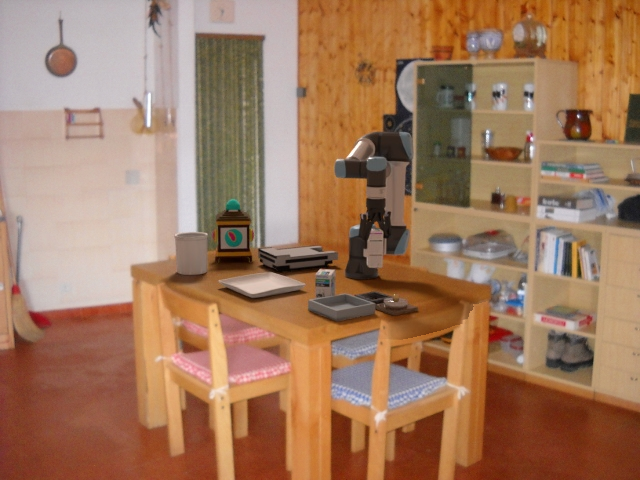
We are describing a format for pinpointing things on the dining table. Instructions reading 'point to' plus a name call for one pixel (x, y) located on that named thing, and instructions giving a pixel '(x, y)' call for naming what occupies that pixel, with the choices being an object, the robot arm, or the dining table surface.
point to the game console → (296, 258)
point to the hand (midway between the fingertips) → (374, 255)
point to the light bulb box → (324, 283)
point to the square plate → (262, 284)
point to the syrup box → (375, 249)
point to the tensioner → (388, 303)
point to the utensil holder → (191, 253)
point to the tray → (341, 307)
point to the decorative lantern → (233, 232)
